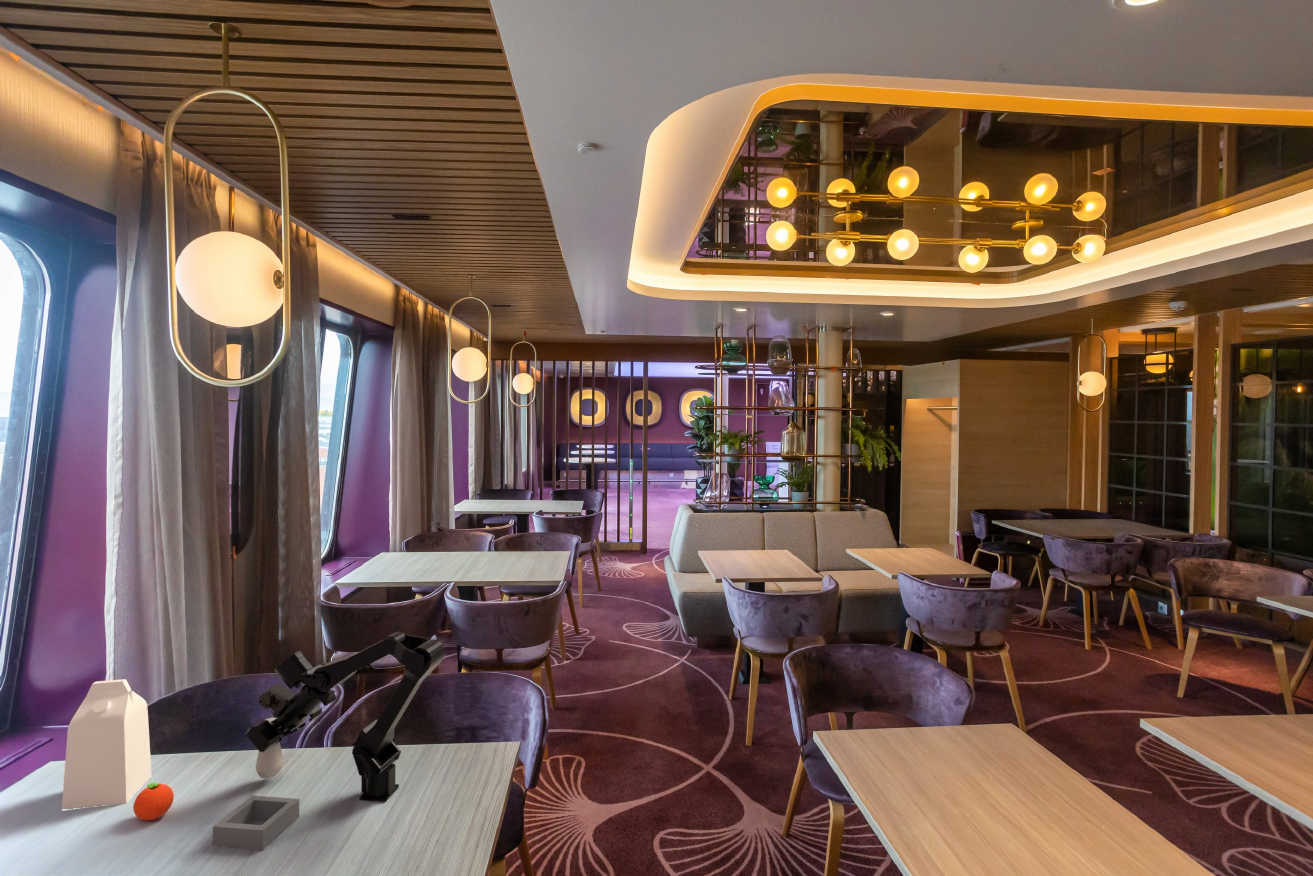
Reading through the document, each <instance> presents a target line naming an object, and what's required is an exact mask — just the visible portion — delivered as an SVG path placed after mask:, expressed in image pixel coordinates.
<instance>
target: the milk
mask: <svg viewBox="0 0 1313 876" xmlns="http://www.w3.org/2000/svg"><path fill="white" fill-rule="evenodd" d="M149 726H150V725H149V711H148V703H147V701H146V700H145V699H144V698H143V697H142V696H141V695H139V694H137V692H135V691H134V690H132V688H131V686H130V685H129V683H128V681H127V679H126V678H124V679H111V680H99V681H95V682H93V683H92V684H91V686H90V688H89V689H88V692H87V694H86V696H85V698H84V699H83V700H82V702H81V704H80V705H79V707H78V709H77V711H76V712H75V713H74V715H73V717H72V718H71V720H70V722H69V725H68V726H67V732H66V733H67V734H66V735H67V736H66V748H65V760H64V761H65V763H64V775H63V776H64V777H63V788H62V789H63V790H62V799H61V800H62V801H61V810H62V809H73V808H83V807H85V809H87V808H86V807H93V808H95V807H94V806H101V807H103V806H102V805H109V806H115V805H116V806H117V805H123V804H127V803H129V801H130V800H131V799H132V798H133V797H134V796H135V795H136V794H137V793H138V792H139V790H140V789H142V787H143V786H144V785H145V784H146V783H147V782H148V781H149V780H150V779H151V778H152V774H153V773H152V760H151V746H150V742H151V741H150V728H149ZM137 791H138V792H137ZM136 792H137V793H136ZM135 793H136V794H135ZM134 794H135V795H134ZM133 795H134V796H133Z"/></svg>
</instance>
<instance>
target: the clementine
mask: <svg viewBox="0 0 1313 876" xmlns="http://www.w3.org/2000/svg"><path fill="white" fill-rule="evenodd" d="M174 797H175V795H174V791H173V789H172V787H170V786H169V785H168V784H165V783H157V782H152V783H149V784H147V787H145V788H144V789H142V790H141V791H140V792H139V794H138V795H136V798H135V799H134V803H133V806H132V808H133V813H134V815H135V816H136V817H137V818H138V819H139V820H142V821H153V820H156V819H158V818H160V817H162V816H163V815H164V814H167V812H168V810H170V808H171V807H172V805H173V803H174Z"/></svg>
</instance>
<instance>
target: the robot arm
mask: <svg viewBox="0 0 1313 876" xmlns="http://www.w3.org/2000/svg"><path fill="white" fill-rule="evenodd" d="M388 655H389V656H392V657H393V658H394V659H395V660H396V661H397V662H398V663H399V664H400V665H403V666H404V667H403V671H404V672H403V677H402V678H401V680H400V681H399V683H398V684H397V686H396V688H395V690H394V692H393V694H392V695H391V696H390V698H389V700H388V702H387V703H386V705H385V707H384V709H383V710H382V711H381V714H380V715H379V716H378V718H377V719H376V718H375V720H373V721H371V722H370V723H369V724H368V725H366V726H365V727H363V728H362V729H361V730H360V731H359V733H358V735H357V738H356V740H355V741H354V742H353V743H352V746H353V748H352V751H351V755H352V758H353V760H354V763H355V766H356V768H357V772H358V775H359V776H360V777H361V783H360V785H361V787H360V788H361V789H360V792H361V795H359V797H358V800H359V801H365V802H366V801H367V802H383V803H384V802H387V801H388V799H389V798H390V797H391V796H392V795H393V794H394V793H395V792H396V791H397V790H398V789H399V787H400V785H399V784H398V783H396V763H395V762H396V761H398V760H399V758H400V756H401V754H402V751H401V749H400V748H399V747H398V746H397V745H396V743H395V742H394V741H393V740H394V737H395V728H396V727H397V725H398V723H399V721H400V720H401V718H402V716H403V715H404V713H405V711H406V710H407V708H408V706H409V705H410V703H411V701H413V700H412V699H413V698H414V696H415V695H416V693H417V691H418V689H419V688H420V686H421V685H422V683H423V681H424V680H425V679H426V678H427V677H428V676H429V675H431V673H432V672H433V671H434V670H435V669H436V668H437V666H439V664H441V662H442V661H443V660H444V658H445V657H446V650H445V647H444V645H443V643H441V641H439V640H437V639H434V638H433V639H430V638H427V637H425V636H419V635H413V634H408V633H405V632H402V631H395V632H394V633H392V634H389V635H388V636H386V637H385V638H384V639H382V640H380V641H379V642H376V643H375V644H372V645H371V646H370V645H369V646H368V647H367V648H364V649H363V650H361V651H359V652H357V653H355V654H352V655H345V656H342V657H338V658H334V659H332V660H330V661H329V662H324V663H319V664H318V665H316V666H312V664H311V663H310V662H309V660H307V658H306V657H305V655H304V654H303V652H302V651H300V650H298V651H296V652H294V653H292V654H291V655H290V656H289V657H288V658H286V659H285V660H283V661H282V662H281V663H278V665H277V666H276V667H275V668H274V672H275V673H276V674H277V676H279V678H280V679H281V680H282V682H283V683H284V685H286V686H287V687H286V686H284V685H283V684H279V683H278V684H275V685H273V686H270V687H269V688H267V689H265V691H264V692H262V694H261V695H260V696H259V697H258V705H259V706H260V707H262V708H263V709H265V710H267V709H271V710H272V711H273V712H272V713H271V714H272V715H273V718H277V719H275V720H273V721H272V722H271V724H270V723H269V721H268V720H265V719H261V720H260V721H258V722H256V723H254V724H253V725H251V726H250V727H249V728H248V729H247V730H246V732H245V736H246V737H247V738H248V739H249V741H250V742H251V743H252V744H253V746H255V749H257V751H258V752H259V751H260V752H264V751H266V750H268V749H269V748H271V747H272V746H274V745H276V744H277V743H279V742H280V743H281V742H282V741H283V738H285V737H287V736H289V735H291V734H293V733H295V732H297V731H299V730H301V729H302V728H304V727H305V726H306V722H307V718H308V717H310V718H309V719H308V721H309V722H310V723H311V722H313V721H314V720H316V719H318V718H319V717H320V716H321V715H322V714H323V707H327V706H328V705H330V704H331V703H333V702H335V701H336V700H337V696H336V690H335V689H334V688H335V687H336V686H338V685H341V684H342V683H344V682H345V681H347V680H348V679H349V678H351V677H352V676H353V675H354V674H356V673H357V672H358V671H359V670H361V669H363V668H365V667H367V666H368V665H369V666H370V664H372V663H374V662H378V660H381V659H383V658H385V657H387V656H388ZM300 687H301V688H300ZM293 688H295V689H299V688H300V689H299V690H298V691H297V692H296V693H294V692H293V691H292V690H291V689H293ZM332 689H334V690H332ZM320 704H323V707H322V706H321V705H320Z"/></svg>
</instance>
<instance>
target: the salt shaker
mask: <svg viewBox="0 0 1313 876" xmlns="http://www.w3.org/2000/svg"><path fill="white" fill-rule="evenodd" d="M275 719H277V717H270V718H266V719H264V720H268V721H269V723H270V724H271V722H272V721H273V720H275ZM257 754H258V755H257V757H256V763H255V771H256V772H257V775H258V776H259V778H260V779H261V778H262V779H265V780H266V779H271V778H274V777H276V776H277V775H278V774H279V773H280V772H281V771H282V768H283V766H284V763H285V761H284V756H283V751H282V748H281V741H280V742H279V743H277V744H276V745H274V746H272V747H271V748H269V749H268V750H266V751H264V752H260V751H259V750H258V753H257Z"/></svg>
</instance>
